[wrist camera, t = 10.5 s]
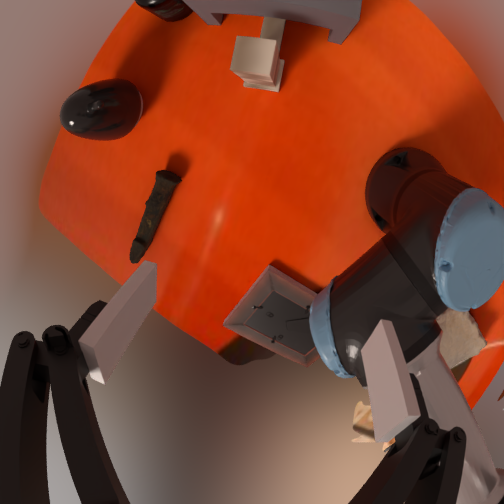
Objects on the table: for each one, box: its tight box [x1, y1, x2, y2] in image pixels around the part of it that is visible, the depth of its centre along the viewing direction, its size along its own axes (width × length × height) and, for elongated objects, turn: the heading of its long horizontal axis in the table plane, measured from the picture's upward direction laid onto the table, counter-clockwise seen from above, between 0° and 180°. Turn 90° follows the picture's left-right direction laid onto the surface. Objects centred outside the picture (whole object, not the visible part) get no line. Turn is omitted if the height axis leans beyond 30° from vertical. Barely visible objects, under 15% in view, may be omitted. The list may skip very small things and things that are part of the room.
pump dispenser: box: [60, 78, 143, 141], centre depth 32 cm, size 10×10×15 cm
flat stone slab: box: [436, 308, 487, 368], centre depth 49 cm, size 24×8×20 cm
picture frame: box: [223, 265, 321, 367], centre depth 53 cm, size 16×2×22 cm
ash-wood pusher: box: [230, 17, 286, 92], centre depth 25 cm, size 8×20×14 cm, turn 170°
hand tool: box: [130, 170, 182, 264], centre depth 45 cm, size 19×4×5 cm, turn 148°
